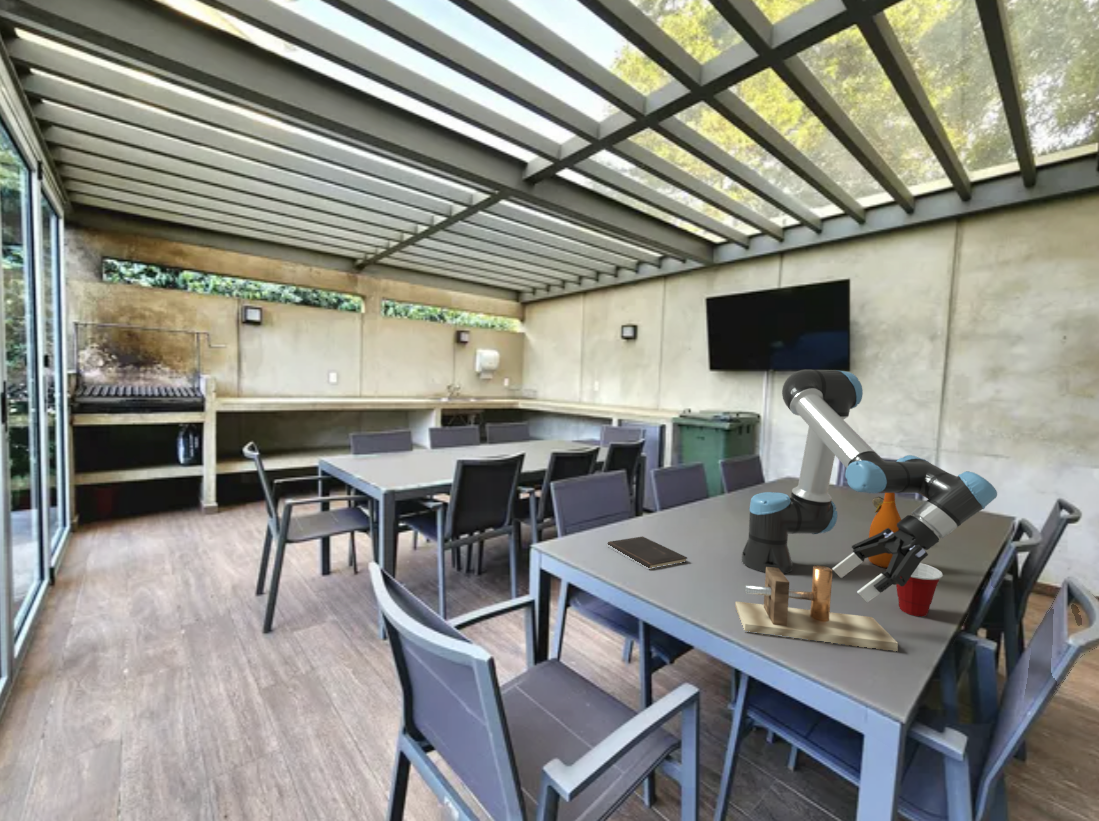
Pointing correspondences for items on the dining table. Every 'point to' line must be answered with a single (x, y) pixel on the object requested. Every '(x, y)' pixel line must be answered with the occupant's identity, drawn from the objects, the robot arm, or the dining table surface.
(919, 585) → the plastic cup
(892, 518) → the wine bottle
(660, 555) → the hardcover book
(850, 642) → the copper canister stand
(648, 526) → the dining table surface
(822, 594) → the copper cylinder with rod
